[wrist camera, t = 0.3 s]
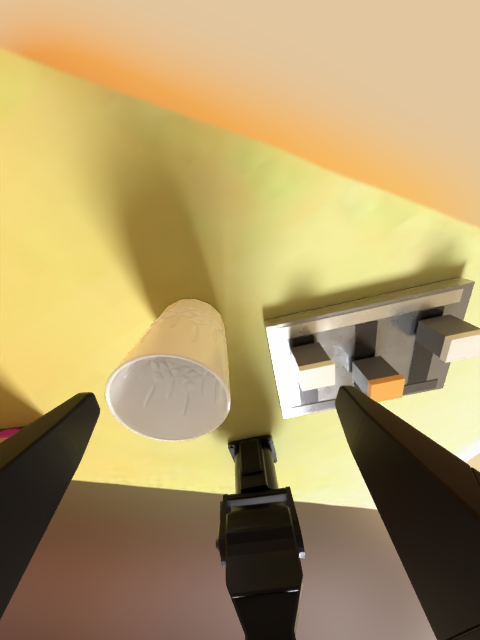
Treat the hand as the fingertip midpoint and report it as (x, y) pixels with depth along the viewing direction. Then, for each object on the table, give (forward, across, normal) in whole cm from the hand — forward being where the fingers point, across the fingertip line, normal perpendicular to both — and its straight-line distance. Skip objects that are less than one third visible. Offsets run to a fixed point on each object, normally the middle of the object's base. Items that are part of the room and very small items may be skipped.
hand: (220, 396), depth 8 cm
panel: (+14, -15, +9) cm, 23 cm away
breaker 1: (+12, -8, +7) cm, 17 cm away
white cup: (+14, +4, +5) cm, 16 cm away
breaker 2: (+12, -15, +9) cm, 22 cm away
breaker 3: (+12, -21, +4) cm, 25 cm away
